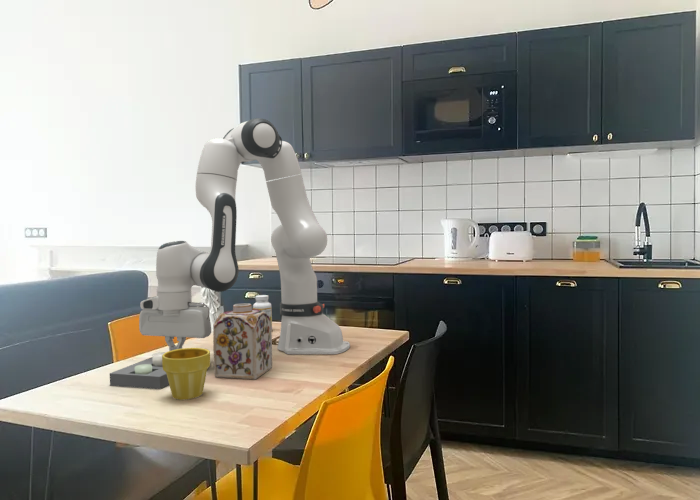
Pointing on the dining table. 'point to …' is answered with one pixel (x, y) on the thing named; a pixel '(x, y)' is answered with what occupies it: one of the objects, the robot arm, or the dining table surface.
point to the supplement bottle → (263, 305)
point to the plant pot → (186, 371)
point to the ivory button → (157, 359)
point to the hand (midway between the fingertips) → (175, 352)
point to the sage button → (143, 369)
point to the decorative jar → (242, 343)
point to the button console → (140, 377)
